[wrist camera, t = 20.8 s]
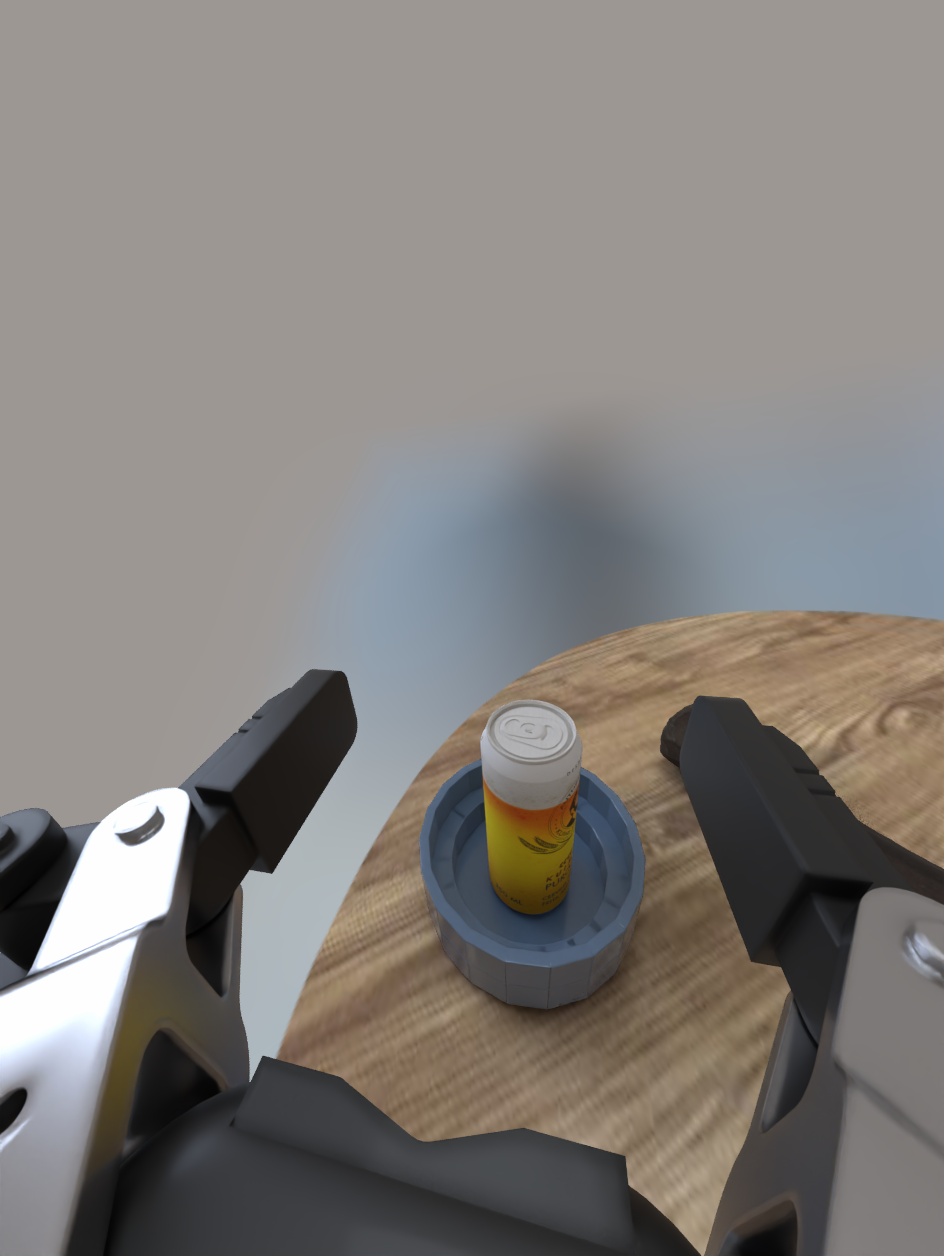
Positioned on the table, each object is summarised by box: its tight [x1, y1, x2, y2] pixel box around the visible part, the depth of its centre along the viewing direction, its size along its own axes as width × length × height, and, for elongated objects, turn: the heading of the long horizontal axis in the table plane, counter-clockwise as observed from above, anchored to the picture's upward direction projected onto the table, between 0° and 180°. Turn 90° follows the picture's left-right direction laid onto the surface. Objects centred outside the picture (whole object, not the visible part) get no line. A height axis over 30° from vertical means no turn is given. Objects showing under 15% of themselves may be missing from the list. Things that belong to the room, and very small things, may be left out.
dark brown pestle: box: [660, 704, 944, 905], centre depth 27 cm, size 11×10×28 cm
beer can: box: [481, 700, 582, 914], centre depth 26 cm, size 6×6×15 cm
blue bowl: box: [419, 758, 645, 1009], centre depth 28 cm, size 15×15×6 cm
